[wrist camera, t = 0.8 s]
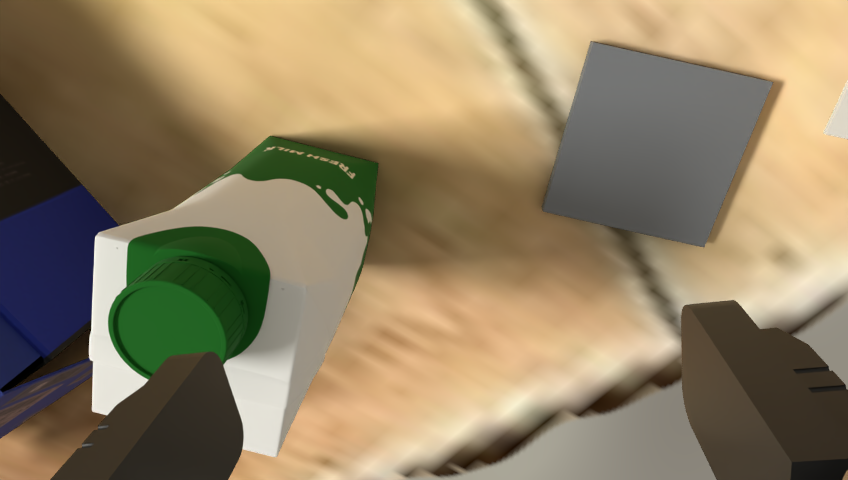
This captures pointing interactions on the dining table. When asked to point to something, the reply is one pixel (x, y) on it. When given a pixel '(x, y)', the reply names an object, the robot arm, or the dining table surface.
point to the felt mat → (652, 143)
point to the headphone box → (41, 269)
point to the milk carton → (237, 282)
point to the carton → (839, 117)
